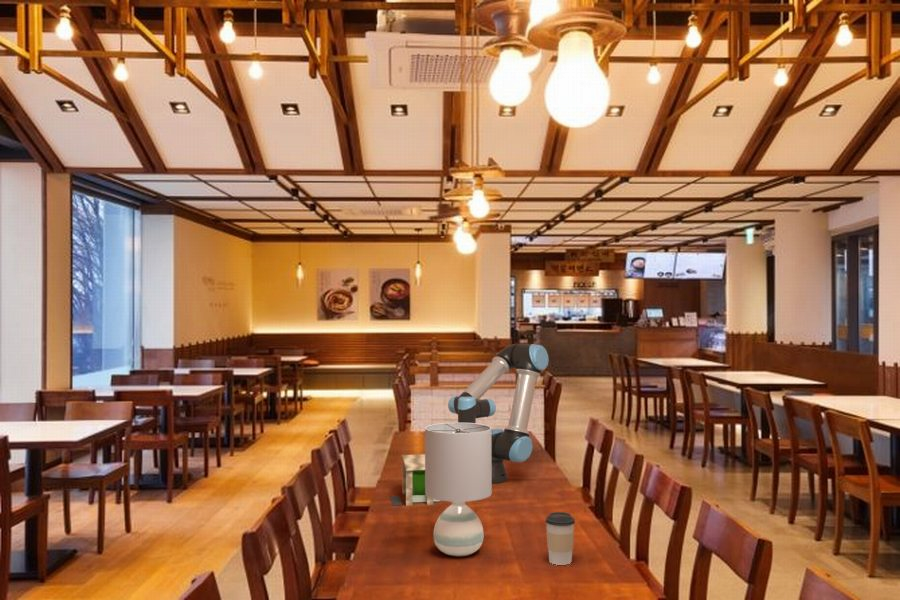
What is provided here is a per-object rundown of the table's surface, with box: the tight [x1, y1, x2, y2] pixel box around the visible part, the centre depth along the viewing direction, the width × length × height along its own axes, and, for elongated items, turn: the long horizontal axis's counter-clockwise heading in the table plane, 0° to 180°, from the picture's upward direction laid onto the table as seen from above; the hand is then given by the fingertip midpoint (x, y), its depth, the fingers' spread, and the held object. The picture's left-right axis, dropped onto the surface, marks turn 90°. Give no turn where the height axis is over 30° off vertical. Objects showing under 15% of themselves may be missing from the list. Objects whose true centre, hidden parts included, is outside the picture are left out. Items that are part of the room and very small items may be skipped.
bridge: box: [401, 453, 434, 507], centre depth 304 cm, size 11×24×16 cm, turn 8°
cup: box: [412, 470, 426, 495], centre depth 305 cm, size 9×9×11 cm
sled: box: [412, 487, 441, 503], centre depth 306 cm, size 31×13×8 cm, turn 98°
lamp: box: [424, 422, 493, 557], centre depth 237 cm, size 22×22×40 cm
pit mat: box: [389, 495, 403, 506], centre depth 301 cm, size 4×14×1 cm, turn 8°
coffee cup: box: [545, 511, 576, 566], centre depth 227 cm, size 9×9×15 cm
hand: (466, 489), depth 307 cm, fingers closed
